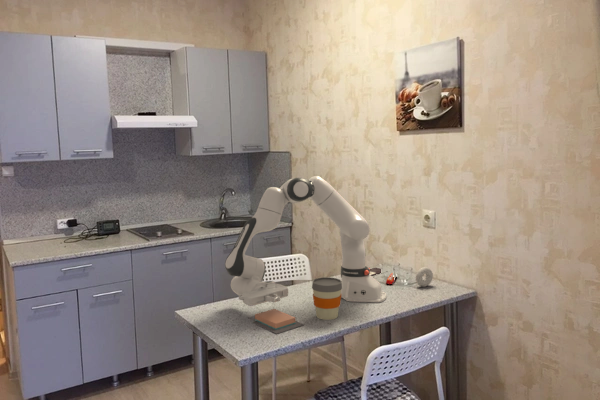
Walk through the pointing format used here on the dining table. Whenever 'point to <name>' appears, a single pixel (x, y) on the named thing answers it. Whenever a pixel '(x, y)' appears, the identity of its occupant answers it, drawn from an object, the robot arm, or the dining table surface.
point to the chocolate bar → (375, 271)
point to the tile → (275, 319)
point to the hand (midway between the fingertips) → (277, 299)
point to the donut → (420, 274)
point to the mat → (280, 328)
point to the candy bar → (390, 279)
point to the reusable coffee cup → (327, 297)
